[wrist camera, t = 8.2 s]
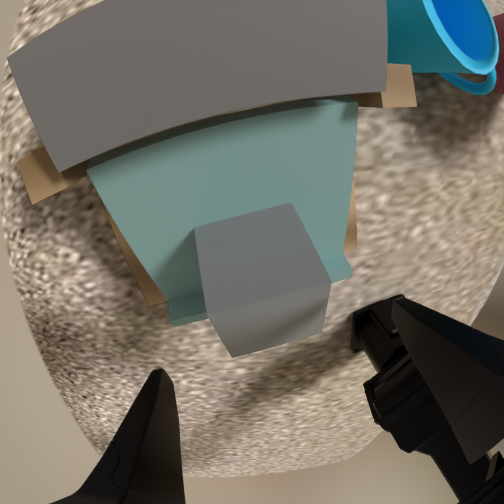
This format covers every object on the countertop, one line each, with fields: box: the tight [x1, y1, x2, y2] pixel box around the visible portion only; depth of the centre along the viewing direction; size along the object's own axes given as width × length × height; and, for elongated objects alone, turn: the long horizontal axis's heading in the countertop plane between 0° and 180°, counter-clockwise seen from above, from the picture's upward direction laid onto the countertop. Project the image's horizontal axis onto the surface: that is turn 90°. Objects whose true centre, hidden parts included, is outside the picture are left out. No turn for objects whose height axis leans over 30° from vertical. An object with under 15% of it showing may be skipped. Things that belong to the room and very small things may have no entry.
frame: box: [18, 63, 417, 306], centre depth 15 cm, size 18×18×9 cm
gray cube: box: [194, 203, 331, 358], centre depth 14 cm, size 5×5×5 cm
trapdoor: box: [7, 0, 388, 327], centre depth 13 cm, size 17×12×5 cm
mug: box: [386, 0, 499, 95], centre depth 12 cm, size 12×8×8 cm
